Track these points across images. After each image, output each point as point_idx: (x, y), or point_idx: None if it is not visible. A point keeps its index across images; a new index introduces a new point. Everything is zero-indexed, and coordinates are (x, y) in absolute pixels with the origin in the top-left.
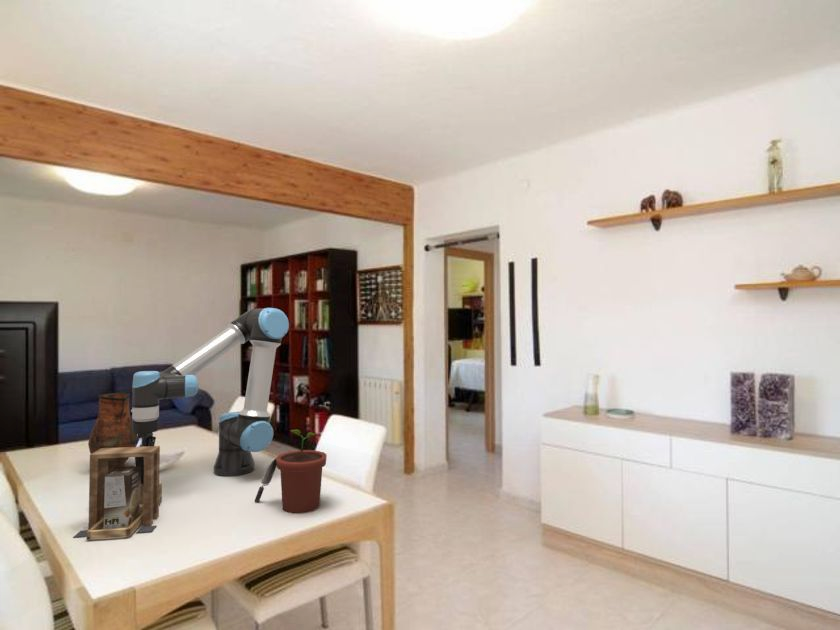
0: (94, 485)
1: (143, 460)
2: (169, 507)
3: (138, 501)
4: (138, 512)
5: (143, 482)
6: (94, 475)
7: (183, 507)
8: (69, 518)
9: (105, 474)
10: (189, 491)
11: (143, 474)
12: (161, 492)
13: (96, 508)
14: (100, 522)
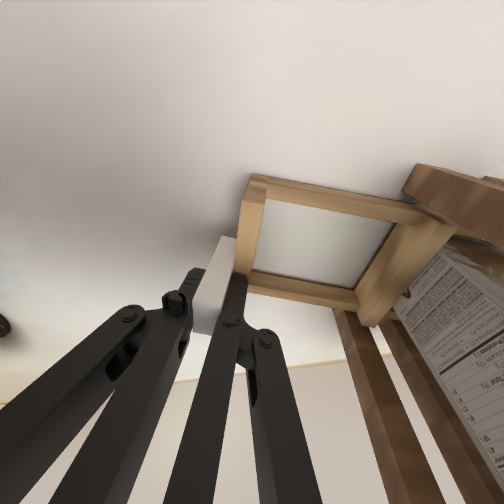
0: None
1: (312, 469)
2: (320, 129)
3: (494, 274)
4: (451, 244)
5: (247, 286)
6: None
7: (359, 44)
8: (283, 347)
9: (438, 495)
10: (104, 45)
11: (242, 320)
12: (251, 185)
13: None
14: None
